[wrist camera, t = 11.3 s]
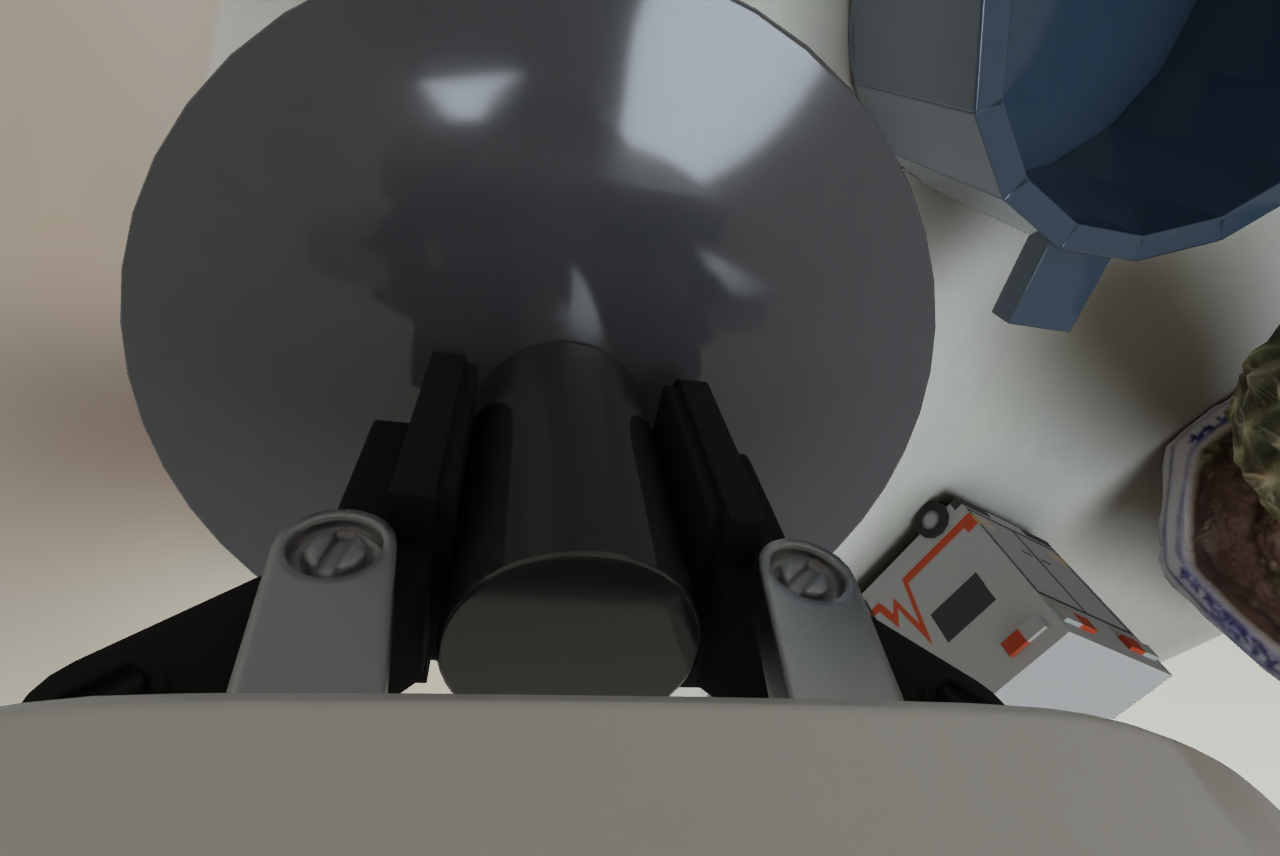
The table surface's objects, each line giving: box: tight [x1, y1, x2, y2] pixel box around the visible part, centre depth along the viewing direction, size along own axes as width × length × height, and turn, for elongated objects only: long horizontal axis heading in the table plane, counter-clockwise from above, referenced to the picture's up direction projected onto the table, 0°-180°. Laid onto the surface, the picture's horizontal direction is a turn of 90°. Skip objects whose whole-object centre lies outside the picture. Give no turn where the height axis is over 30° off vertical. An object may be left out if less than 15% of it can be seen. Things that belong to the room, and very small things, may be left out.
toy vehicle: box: [862, 497, 1172, 720], centre depth 37 cm, size 10×17×10 cm, turn 149°
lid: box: [120, 0, 935, 697], centre depth 11 cm, size 15×15×7 cm
